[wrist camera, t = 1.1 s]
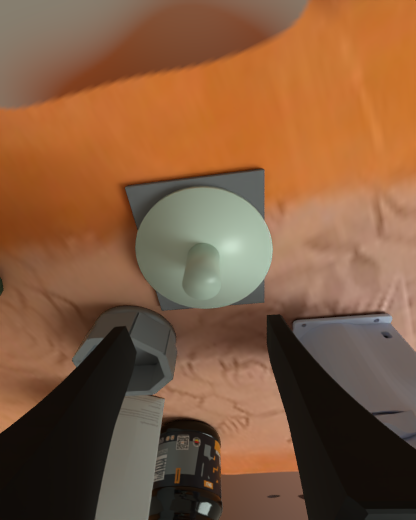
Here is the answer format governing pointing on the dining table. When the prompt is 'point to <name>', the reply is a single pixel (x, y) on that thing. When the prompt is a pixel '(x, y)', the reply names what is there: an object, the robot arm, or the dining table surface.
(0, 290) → the character mug
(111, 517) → the skincare box
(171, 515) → the supplement container
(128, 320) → the bowl
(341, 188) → the dining table surface
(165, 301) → the mat
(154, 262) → the lid
